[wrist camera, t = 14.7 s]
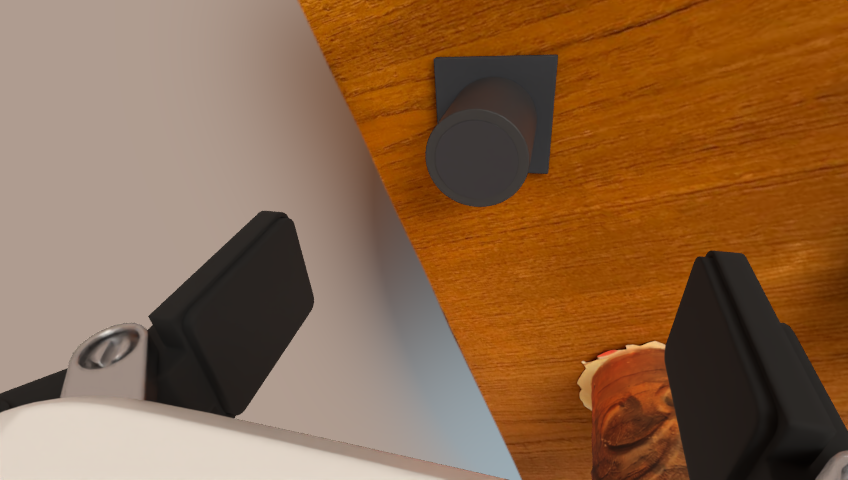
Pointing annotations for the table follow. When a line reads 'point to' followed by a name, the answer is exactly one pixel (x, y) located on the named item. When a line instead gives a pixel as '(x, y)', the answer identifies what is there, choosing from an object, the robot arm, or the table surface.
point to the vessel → (632, 416)
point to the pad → (521, 69)
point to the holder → (483, 143)
